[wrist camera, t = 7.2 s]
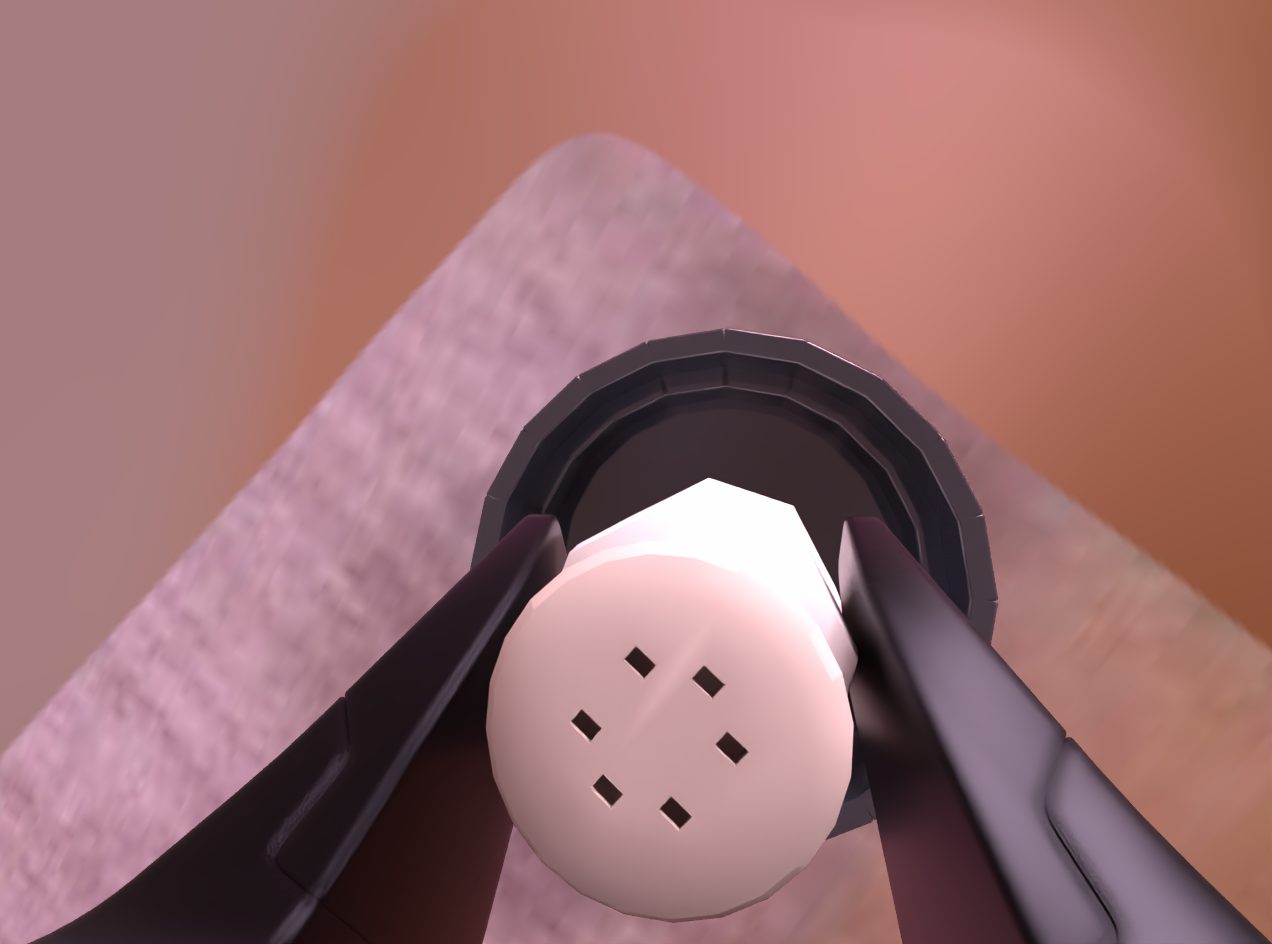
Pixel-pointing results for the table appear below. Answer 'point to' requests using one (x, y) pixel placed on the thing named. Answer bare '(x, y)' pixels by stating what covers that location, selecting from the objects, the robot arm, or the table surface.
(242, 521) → the table surface
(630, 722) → the pepper shaker
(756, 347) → the pan
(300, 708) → the table surface
